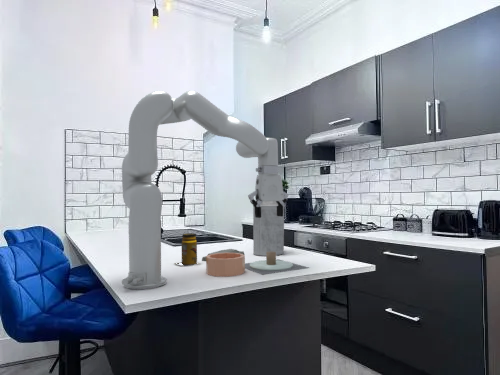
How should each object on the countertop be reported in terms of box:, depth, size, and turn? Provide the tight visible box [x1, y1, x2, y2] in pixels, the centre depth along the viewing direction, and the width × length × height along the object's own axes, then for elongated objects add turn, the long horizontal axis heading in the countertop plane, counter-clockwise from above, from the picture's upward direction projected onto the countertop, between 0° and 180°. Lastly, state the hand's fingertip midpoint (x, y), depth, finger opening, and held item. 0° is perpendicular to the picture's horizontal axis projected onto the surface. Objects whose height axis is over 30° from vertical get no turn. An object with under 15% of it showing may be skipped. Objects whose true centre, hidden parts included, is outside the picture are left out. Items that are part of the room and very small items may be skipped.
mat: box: [245, 258, 310, 276], centre depth 131 cm, size 20×20×1 cm
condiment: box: [173, 232, 201, 267], centre depth 140 cm, size 7×8×12 cm
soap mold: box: [201, 248, 246, 262], centre depth 153 cm, size 10×20×4 cm, turn 153°
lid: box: [249, 251, 293, 271], centre depth 131 cm, size 16×16×5 cm
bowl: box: [205, 253, 246, 277], centre depth 123 cm, size 13×13×6 cm
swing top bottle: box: [252, 201, 285, 257], centre depth 160 cm, size 13×17×40 cm
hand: (269, 216), depth 132 cm, fingers open, 9 cm apart
